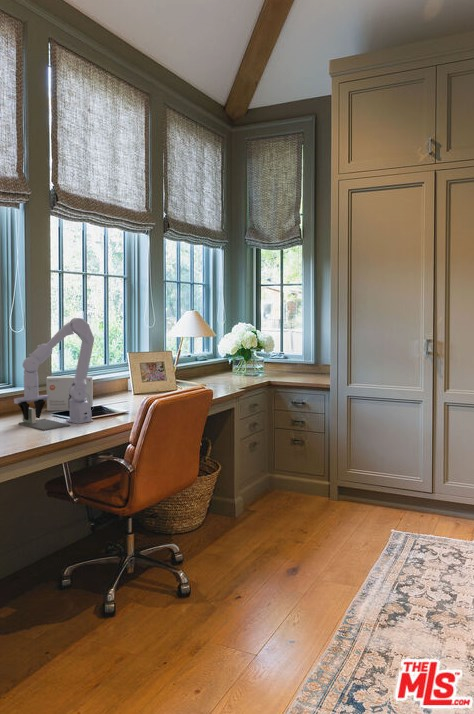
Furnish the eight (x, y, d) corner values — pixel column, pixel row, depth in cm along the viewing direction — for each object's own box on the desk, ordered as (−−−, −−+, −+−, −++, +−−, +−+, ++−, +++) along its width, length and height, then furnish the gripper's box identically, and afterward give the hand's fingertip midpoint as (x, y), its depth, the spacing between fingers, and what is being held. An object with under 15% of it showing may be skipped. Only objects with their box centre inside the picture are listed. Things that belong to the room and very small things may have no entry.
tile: (35, 423, 251) (35, 408, 250) (31, 423, 249) (30, 409, 249) (27, 420, 256) (26, 406, 255) (22, 421, 254) (22, 407, 254)
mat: (70, 426, 247) (70, 424, 247) (43, 430, 238) (43, 429, 238) (44, 420, 261) (44, 418, 260) (18, 424, 252) (18, 422, 252)
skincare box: (46, 411, 283) (45, 377, 281) (47, 409, 288) (47, 376, 286) (92, 409, 287) (92, 376, 285) (93, 407, 292) (92, 375, 291)
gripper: (42, 383, 258) (42, 415, 259) (9, 387, 247) (10, 419, 248) (50, 385, 253) (51, 417, 254) (18, 388, 242) (19, 422, 243)
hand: (32, 418), depth 251 cm, fingers open, 5 cm apart
